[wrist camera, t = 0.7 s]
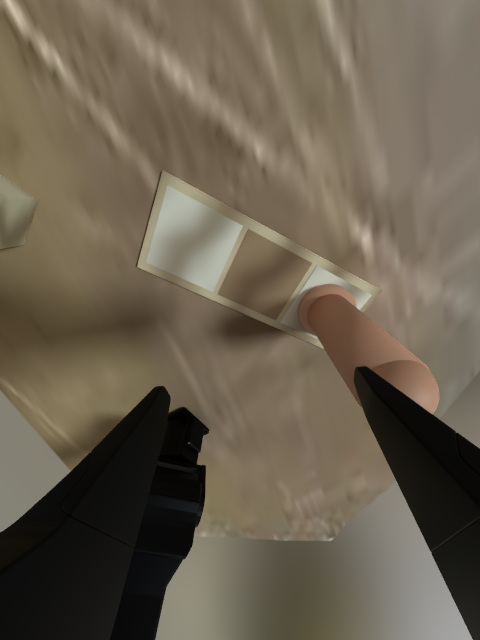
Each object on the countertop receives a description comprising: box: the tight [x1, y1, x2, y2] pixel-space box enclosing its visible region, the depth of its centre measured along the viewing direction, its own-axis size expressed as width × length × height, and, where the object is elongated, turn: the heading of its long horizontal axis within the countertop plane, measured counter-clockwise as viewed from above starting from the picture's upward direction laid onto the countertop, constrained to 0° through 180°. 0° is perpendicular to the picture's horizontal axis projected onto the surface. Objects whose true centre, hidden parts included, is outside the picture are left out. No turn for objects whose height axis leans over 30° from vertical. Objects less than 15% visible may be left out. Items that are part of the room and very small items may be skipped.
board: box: [137, 170, 382, 349], centre depth 23 cm, size 25×9×1 cm, turn 64°
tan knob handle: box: [298, 284, 439, 414], centre depth 18 cm, size 6×6×14 cm
